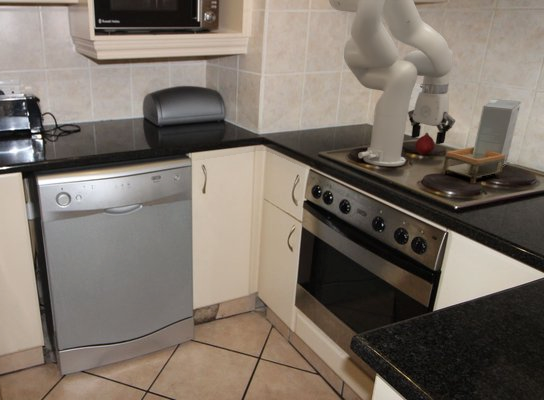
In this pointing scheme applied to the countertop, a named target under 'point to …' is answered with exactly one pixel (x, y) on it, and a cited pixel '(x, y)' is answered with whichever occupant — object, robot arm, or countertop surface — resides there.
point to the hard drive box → (496, 128)
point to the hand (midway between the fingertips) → (427, 140)
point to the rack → (473, 163)
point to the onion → (424, 144)
